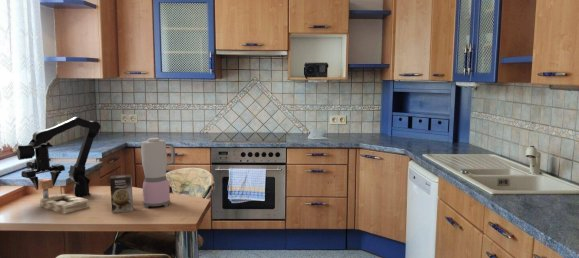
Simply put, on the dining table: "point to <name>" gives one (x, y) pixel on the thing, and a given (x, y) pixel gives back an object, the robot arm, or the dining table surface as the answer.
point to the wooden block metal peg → (45, 186)
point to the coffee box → (121, 193)
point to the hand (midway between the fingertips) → (45, 187)
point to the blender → (156, 172)
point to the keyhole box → (64, 203)
